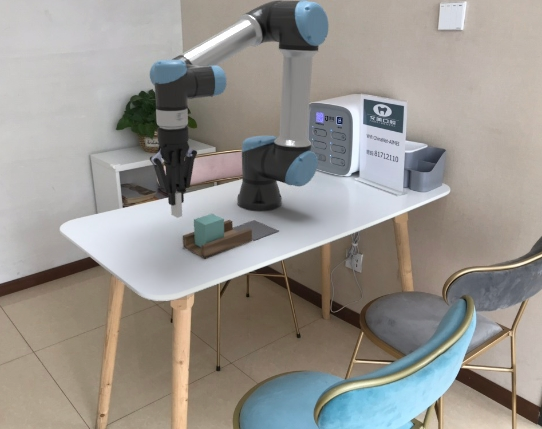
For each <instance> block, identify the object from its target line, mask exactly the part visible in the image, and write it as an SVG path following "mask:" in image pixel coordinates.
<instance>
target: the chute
mask: <svg viewBox="0 0 542 429" xmlns="http://www.w3.org/2000/svg"><path fill="white" fill-rule="evenodd" d="M233 225H234V224H233V220H231V219H228V220H224V237H223V238H220V239H218V240H215V241H212V242H209V243H207V244H204V245H201V247H199V246H198V245H196V244H195V237H194V231H192V232H189V233H186V234H184V235H182V247H183V248H185V249H186V250H188V251H190V252H192V253H193V254H195V255H197V256H199V257H201V258H203V259H208V258H210V257H213V256H216V255H219V254H221V253H223V252H226V251H230V250H231V249H234V248H236V247H239V246H242V245H244V244H245V245H246V244H247V243H250V242H252V241H253V240H252V230H251V229H249V228H248V229H245V230H243V231H240V232H237V231H235V230H233V227H234V226H233Z"/></svg>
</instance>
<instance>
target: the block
mask: <svg viewBox="0 0 542 429" xmlns="http://www.w3.org/2000/svg"><path fill="white" fill-rule="evenodd" d="M224 221H225V219H224V218H223V217H221V216H219V215H216V214H214V213H209V214H206V215H204V216H200V217H197V218H193V229H194V230H193V232H194V237H195V244H196V245H198V246H199V247H201V245H204V244H207V243H209V242H212V241H215V240H218V239H220V238H223V237H224Z"/></svg>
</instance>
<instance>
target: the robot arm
mask: <svg viewBox="0 0 542 429" xmlns="http://www.w3.org/2000/svg"><path fill="white" fill-rule="evenodd" d="M328 34H329V19H328V16H327V13H326V11H325V10H324V7H323V6H322V5H320V4H319V3H318V2H316V1H307V0H271V1H268V2H266V3H263V4H261V5H259V6H257V7H255V8H253V9H251V10H250V11H247V12H245V13H244V14H242V15H241V16H239V17H238V19H237V22H236V23H234V24H232V25H230V26H229V27H226V28H225V29H223V30H221V31H220V32H217V33H216V34H215V35H214V34H213V36H211V37H209V38H207V39H206V40H204V41H203V42H201V43H199V44H197V45H195V46H193V47H191V48H190V49H188V50H186V51H185V52H183V53H181V54H179V55H177V56H175V57H174V58H172V59H161V60H157V61H156V62H154V63H153V64H152V65H151V67H150V70H149V79H150V82H151V83H152V85H153V86H154V94H155V96H154V97H155V115H156V124H157V128H156V132H157V142H158V148H157V153H156V154H155V155H154V156H153V155H152V156H150V157H149V161H150V162H151V164H152V165H153V168H154V170H155V175H156V178H157V181H158V185H159V189H160V191H162V192H163V193H166V194H167V198H168V205H170V210H171V211H170V213H171V216H173V217H175V218H177V219H178V218H181V217H183V203H184V202H185V199H184V196H185V195H184V193H186V192H187V189H189V188H190V187H191V183H192V178H193V177H192V176H193V170H194V163H195V159H196V157H197V155H198V151H197V150H196V149H192V148H191V147H190V144H189V143H188V142H189V139H190V138H189V127H188V124H189V119H188V118H189V116H188V115H189V113H188V110H189V109H188V103H189V102H188V100H192V99H193V100H194V99H199V98H201V99H202V98H207V97H209V98H213V97H216V96H219V95H221V94H223V93H224V92H225V90H226V87H227V75H226V73H225V71H224V69H223V68H222V67H221V66H219V65H221V64H223V63H224V62H226V61H228V60H229V59H232V58H233V57H234V56H236V55H238V54H239V53H241V52H243V51H245V50H246V49H248V48H249V47H257V46H260V45H262V44H264V43H271V42H273V43H274V42H275V43H276V42H277V43H278V51H279V52H280V54H282V56H283V58H282V59H283V61H282V76H281V77H282V78H281V79H282V80H281V94H280V95H281V98H280V114H279V116H280V117H279V135H278V136H276V135H258V136H257V135H255V136H250V137H247V138H245V139H244V140H243V141H242V145H241V173H242V174H241V175H242V180H241V181H242V182H241V185H240V188H239V193H238V194H237V199H236V200H237V202H236V203H237V206H238V207H240V208H241V209H243V210H245V211H246V210H248V211H253V212H266V211H273V210H275V209H277V208H280V207H281V205H282V203H283V202H282V201H283V200H282V194H281V192H280V188H279V185H278V184H279V183H278V182H281V183H283V184H286V185H288V186H294V187H303V186H305V185H307V184H308V183H309V182H310V181H311V180H312V179H313V178H314V176H315V175H316V172H317V169H318V164H319V158H318V156H317V154H316V153H315V152H314V151H312V142H311V141H310V139H309V138H308V127H309V124H308V123H309V116H310V115H309V114H310V112H309V111H310V100H311V99H310V98H311V88H312V87H311V84H312V70H313V57H315V55H316V54H317V53H318V52H319V46H321V45H322V44H324V42H325V41H326V38H327V37H328ZM163 162H164V164H163ZM164 166H165V168H164Z"/></svg>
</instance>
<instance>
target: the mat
mask: <svg viewBox="0 0 542 429" xmlns="http://www.w3.org/2000/svg"><path fill="white" fill-rule="evenodd" d="M248 228H249V229H251V230H252V241H254V242H255V241H259V240H260V239H263V238H266V237H268V236H270V235H273V234H275V233H278V232H280V230H278V229H276V228H275V227H272V226H270V225H268V224H265V223H262V222H260V221H257V220H255V219H254V220H251V221H248V222H244V223H241V224H239V225H236V226H233V230H235V231H237V232H240V231H243V230H245V229H248Z"/></svg>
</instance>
